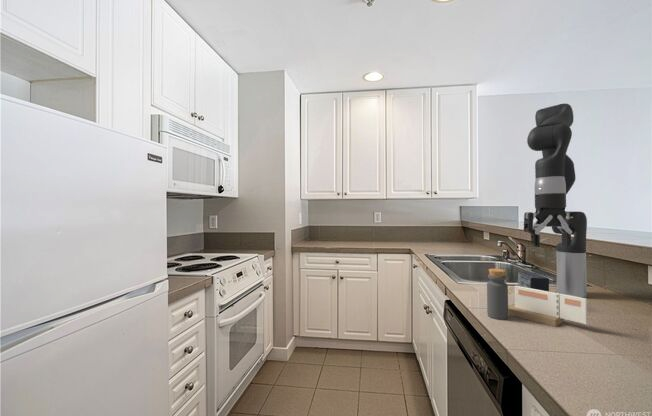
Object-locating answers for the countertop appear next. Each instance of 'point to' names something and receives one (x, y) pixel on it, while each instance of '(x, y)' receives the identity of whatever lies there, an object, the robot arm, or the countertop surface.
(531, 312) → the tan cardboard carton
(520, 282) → the small box
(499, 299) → the bottle
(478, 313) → the countertop surface
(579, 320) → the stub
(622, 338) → the countertop surface
